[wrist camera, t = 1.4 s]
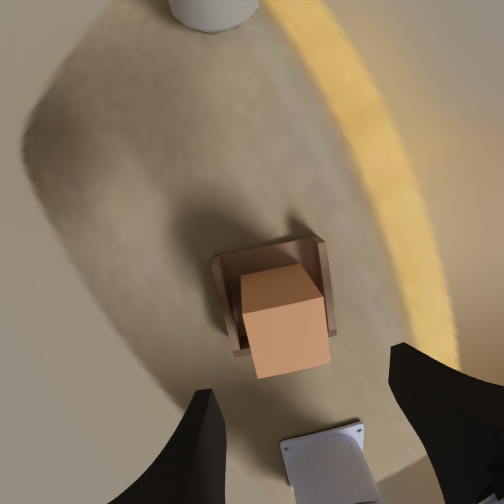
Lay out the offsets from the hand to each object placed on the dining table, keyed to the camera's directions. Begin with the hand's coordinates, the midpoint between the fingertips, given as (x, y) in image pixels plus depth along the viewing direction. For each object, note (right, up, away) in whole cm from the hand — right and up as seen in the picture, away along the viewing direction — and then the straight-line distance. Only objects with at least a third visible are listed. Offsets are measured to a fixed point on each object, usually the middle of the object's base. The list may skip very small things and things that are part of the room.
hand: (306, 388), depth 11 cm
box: (-1, +3, +10) cm, 11 cm away
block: (0, +2, +10) cm, 10 cm away
